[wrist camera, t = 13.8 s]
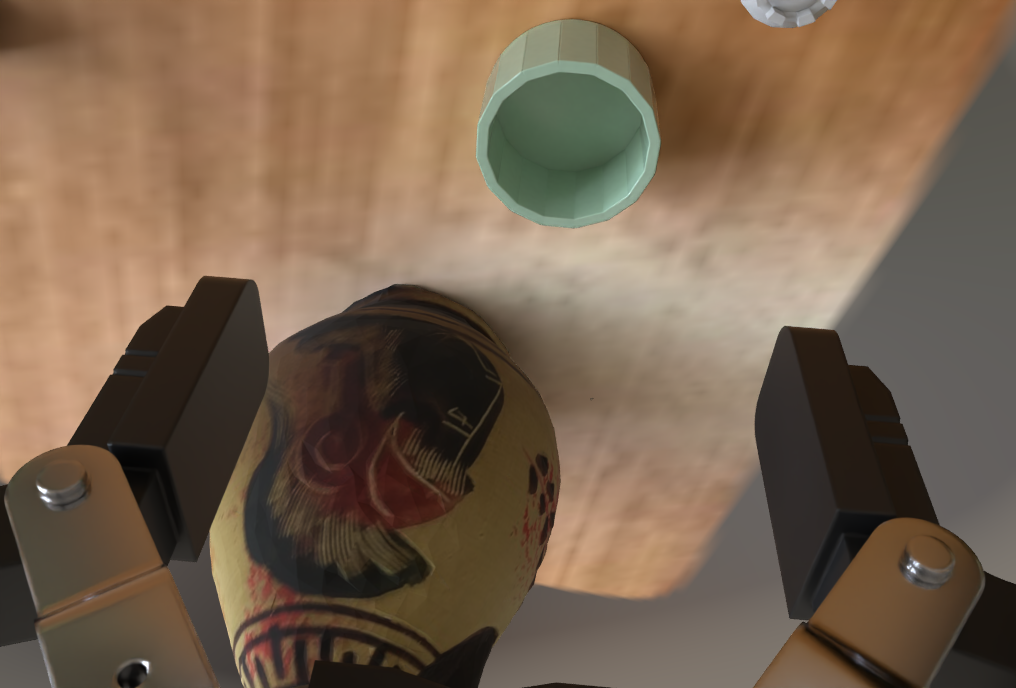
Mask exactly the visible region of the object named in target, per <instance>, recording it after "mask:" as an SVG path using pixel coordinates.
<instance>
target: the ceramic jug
mask: <svg viewBox="0 0 1016 688" xmlns="http://www.w3.org/2000/svg"><path fill="white" fill-rule="evenodd" d="M592 399H594V398H591V400H592ZM560 483H561V479H560V464H559V456H558V450H557V444H556V437H555V431H554V427H553V424H552V422H551V419H550V416H549V414H548V411H547V409H546V407H545V405H544V402H543V400H542V398H541V396H540V394H539V393H538V391H537V390H536V388H535V387H534V386H533V384H532V383H531V382H530V380H529V379H528V377H527V376H526V375H525V374H524V373H523V372H522V371H521V370H520V368H519V367H518V366H517V365H516V364H515V363H514V362H513V361H512V360H511V359H510V356H509V352H508V351H507V349H506V348H505V347H504V345H503V344H502V342H501V341H500V340H499V339H498V337H497V336H496V335H495V334H494V332H493V331H492V330H491V329H490V327H489V326H488V325H487V324H486V323H485V322H484V320H483V319H482V318H481V317H480V316H478V315H477V314H476V313H475V312H473V311H472V310H470V309H468V308H466V307H464V306H462V305H460V304H458V303H456V302H454V301H452V300H450V299H448V298H446V297H444V296H442V295H439V294H436V293H433V292H429V291H426V290H423V289H421V288H419V287H417V286H414V285H399V284H394V285H392V286H390V287H388V288H386V289H383V290H380V291H377V292H374V293H373V294H371V295H369V296H367V297H365V298H363V299H361V300H359V301H357V302H354V303H353V304H352V305H351V306H350V307H348V308H347V309H346V310H345V311H344V312H342V313H340V314H337V315H335V316H332V317H329V318H326V319H324V320H322V321H320V322H318V323H316V324H314V325H312V326H310V327H307V328H305V329H303V330H301V331H299V332H298V333H296V334H294V335H292V336H290V337H289V338H287V339H285V340H284V341H282V342H281V343H279V344H278V345H277V346H276V347H275V348H274V349H273V350H272V351H271V352H270V353H269V376H268V383H267V388H266V391H265V394H264V397H263V400H262V402H261V405H260V407H259V409H258V412H257V414H256V417H255V419H254V422H253V424H252V427H251V429H250V432H249V434H248V437H247V439H246V442H245V444H244V446H243V449H242V451H241V454H240V456H239V459H238V461H237V464H236V466H235V469H234V471H233V474H232V476H231V479H230V481H229V483H228V486H227V488H226V491H225V493H224V496H223V498H222V501H221V503H220V506H219V508H218V511H217V513H216V516H215V518H214V520H213V523H212V525H211V528H210V554H211V562H212V574H213V578H214V581H215V584H216V588H217V592H218V596H219V600H220V604H221V608H222V612H223V616H224V619H225V622H226V626H227V630H228V634H229V638H230V642H231V646H232V650H233V654H234V658H235V662H236V665H237V668H238V672H239V674H240V677H241V682H242V684H243V686H244V688H293V687H297V686H302V685H308V684H309V682H310V678H311V674H312V670H313V666H314V662H315V660H320V661H330V662H341V663H352V664H363V665H373V666H384V667H394V668H396V669H399V670H402V671H405V672H408V673H410V674H413V675H416V676H419V677H422V678H424V679H427V680H430V681H433V682H436V683H438V684H441V685H444V686H447V687H450V688H478V685H479V682H480V678H481V675H482V672H483V668H484V666H485V663H486V661H487V659H488V656H489V654H490V652H491V649H492V647H493V646H494V645H495V644H496V643H497V641H498V640H499V638H500V636H501V635H502V633H503V632H504V631H505V629H506V628H507V626H508V625H509V623H510V621H511V619H512V618H513V616H514V615H515V613H516V612H517V611H518V609H519V608H520V606H521V605H522V603H523V600H524V598H525V596H526V594H527V593H528V591H529V590H530V589H531V587H532V586H533V585H534V582H535V577H536V573H537V570H538V568H539V567H540V565H541V563H542V561H543V559H544V556H545V553H546V550H547V543H548V541H549V538H550V535H551V530H552V528H553V526H554V519H555V514H556V508H557V503H558V496H559V490H560Z"/></svg>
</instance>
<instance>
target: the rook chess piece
mask: <svg viewBox="0 0 1016 688" xmlns="http://www.w3.org/2000/svg"><path fill="white" fill-rule="evenodd" d="M836 1H837V0H741V2H742V4H743V5H744V7H745V8H746V9H747V10H748V12H749V13H750V14H751V15H752V17H753V18H754V19H756V20H758V21H760V22H762V23H764V24H766V25H769V26H771V27H782V28H794V27H797V26H798V27H801V26H804V25H807V24H810V23H813V22H815V20H816V19H817V18H818V17H820V16H821V15H822V14H823V13H825V12H826V11H827V10H831V8H832V7H833V5H834V4H835V2H836Z"/></svg>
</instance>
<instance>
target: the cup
mask: <svg viewBox="0 0 1016 688" xmlns="http://www.w3.org/2000/svg"><path fill="white" fill-rule="evenodd" d="M660 146H661V135H660V127H659V119H658V111H657V103H656V96H655V92H654V88H653V83H652V78H651V75H650V72H649V68H648V66H647V65H646V63H645V61H644V59H643V58H642V56H641V55H640V53H639V52H638V50H637V49H636V48H635V47H634V46H633V45H632V44H631V43H630V42H629V41H628V40H627V39H626V38H624V37H623V36H622V35H620V34H619V33H617V32H616V31H614V30H612V29H610V28H608V27H606V26H604V25H601V24H598V23H594V22H591V21H585V20H576V19H566V20H556V21H552V22H548V23H544V24H541V25H539V26H536V27H534V28H532V29H530V30H528V31H526V32H525V33H523V34H522V35H520V36H519V37H518V38H516V39H515V40H514V41H513V42H512V43H511V44H510V45H509V46H508V47H507V48H506V49H505V50H504V51H503V53H502V54H501V55H500V57H499V58H498V60H497V62H496V63H495V65H494V68H493V70H492V72H491V75H490V77H489V79H488V81H487V85H486V89H485V94H484V98H483V103H482V107H481V112H480V116H479V121H478V125H477V146H476V157H477V161H478V163H479V166H480V168H481V171H482V174H483V176H484V179H485V181H486V184H487V186H488V187H489V189H490V190H491V191H492V192H493V193H494V194H495V195H496V196H497V197H498V198H499V199H500V200H501V201H502V202H503V203H504V204H505V205H506V206H507V207H508V208H509V210H511V211H512V212H514V213H516V214H518V215H520V216H523V217H525V218H527V219H529V220H531V221H533V222H535V223H538V224H540V225H541V224H542V225H544V226H555V227H565V228H579V227H583V226H587V225H591V224H595V223H599V222H603V221H607V220H609V219H611V218H612V217H614V216H615V215H617V214H618V213H620V212H621V211H623V210H624V209H626V208H627V207H629V206H630V205H632V204H633V203H635V202H636V201H637V200H638V198H639V197H640V195H641V194H642V192H643V191H644V190H645V188H646V187H647V185H648V184H649V182H650V181H651V179H652V178H653V176H654V175H655V172H656V167H657V162H658V157H659V151H660Z"/></svg>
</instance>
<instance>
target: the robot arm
mask: <svg viewBox="0 0 1016 688" xmlns="http://www.w3.org/2000/svg"><path fill="white" fill-rule="evenodd" d="M125 351H126V353H125V355H122V356H121V358H120V360H119V361H118V363H117V365H116V366H115V368H114V369H113V370H114V373H113V375H110V376H109V378H108V379H107V381H106V383H105V384H104V386H103V387H102V389H101V391H100V392H99V394H98V396H97V397H96V399H95V401H94V402H93V404H92V406H91V407H90V409H89V410H88V412H87V414H86V415H85V417H84V419H83V420H82V422H81V424H80V425H79V427H78V428H77V430H76V432H75V433H74V435H73V437H72V438H71V440H70V442H69V443H68V445H67V446H64V447H60V448H56V449H53V450H50V451H48V452H45V453H43V454H41V455H39V456H37V457H35V458H33V459H32V460H31V461H29V462H28V463H26V464H25V465H24V466H23V467H21V468H20V469H19V470H18V471H17V472H16V474H15V475H14V476H13V477H12V479H11V480H10V482H9V484H7V485H3V486H0V647H1V646H6V645H11V644H16V643H21V642H26V641H31V640H36V639H38V641H39V644H40V648H41V651H42V654H43V657H44V661H45V664H46V668H47V672H48V675H49V679H50V682H51V686H52V688H220V685H219V683H218V681H217V679H216V676H215V674H214V672H213V670H212V667H211V665H210V662H209V660H208V658H207V656H206V653H205V651H204V649H203V647H202V644H201V642H200V639H199V637H198V635H197V633H196V630H195V628H194V626H193V624H192V621H191V619H190V617H189V614H188V612H187V610H186V607H185V605H184V603H183V601H182V598H181V596H180V594H179V591H178V589H177V587H176V585H175V582H174V580H173V577H172V575H171V573H170V571H169V569H168V567H167V566H168V563H169V561H170V560H178V561H189V562H197V560H198V557H199V555H200V552H201V550H202V548H203V545H204V543H205V540H206V538H207V535H208V533H209V530H210V528H211V525H212V523H213V520H214V518H215V516H216V513H217V511H218V508H219V506H220V503H221V501H222V498H223V496H224V493H225V491H226V488H227V486H228V483H229V481H230V479H231V476H232V474H233V471H234V469H235V466H236V464H237V461H238V459H239V456H240V454H241V451H242V449H243V446H244V444H245V442H246V439H247V437H248V434H249V432H250V429H251V427H252V424H253V422H254V419H255V417H256V414H257V412H258V409H259V407H260V405H261V402H262V400H263V397H264V394H265V391H266V388H267V383H268V376H269V353H268V347H267V341H266V335H265V328H264V322H263V316H262V310H261V303H260V297H259V291H258V287H257V285H256V283H255V281H254V280H249V279H237V278H225V277H214V276H203V277H202V278H201V279H200V280H199V282H198V283H197V285H196V287H195V289H194V290H193V292H192V294H191V296H190V297H189V299H188V301H187V303H186V304H185V306H184V307H178V306H165V307H164V308H163V309H162V310H160V311H159V312H158V313H156V314H155V315H154V316H152V317H151V318H150V319H148V320H147V321H146V322H144V323H143V324H142V325H141V326H140V327H139V329H138V330H137V332H136V333H135V335H134V337H133V338H132V340H131V342H130V343H129V345H128V347H127V348H126V350H125ZM755 438H756V444H757V449H758V455H759V460H760V465H761V470H762V475H763V481H764V486H765V491H766V497H767V502H768V507H769V512H770V518H771V523H772V528H773V533H774V539H775V544H776V550H777V554H778V560H779V565H780V571H781V576H782V581H783V586H784V592H785V597H786V602H787V608H788V612H789V618H790V619H799V620H809V621H808V622H807V623H805V622H802V623H801V624H800V625H799V626H798V627H797V628H796V630H795V631H794V632H793V634H792V635H791V636H790V637H789V639H788V640H787V642H786V643H785V644H784V646H783V647H782V648H781V650H780V651H779V653H778V654H777V655H776V657H775V658H774V659H773V661H772V662H771V664H770V665H769V667H768V668H767V669H766V670H765V672H764V673H763V675H762V676H761V677H760V679H759V680H758V681H757V683H756V684H755V686H754V687H753V688H1016V584H1014V583H1011V582H1008V581H1005V580H1003V579H1000V578H998V577H995V576H993V575H991V574H989V573H987V572H985V571H983V568H982V565H981V563H980V561H979V560H978V558H977V556H976V555H975V553H974V552H973V551H972V549H971V548H970V547H969V546H968V545H967V544H966V543H965V542H964V541H963V540H962V539H960V538H959V537H958V536H956V535H955V534H954V533H952V532H950V531H949V530H947V529H945V528H943V527H941V526H940V525H939V523H938V519H937V517H936V514H935V511H934V509H933V506H932V503H931V500H930V498H929V495H928V492H927V489H926V487H925V484H924V482H923V479H922V476H921V473H920V471H919V468H918V465H917V462H916V460H915V457H914V454H913V451H912V449H911V446H908V438H907V435H906V432H905V430H904V427H903V424H900V416H899V413H898V411H897V408H896V405H895V402H894V400H893V397H892V394H891V392H890V391H889V389H888V388H887V387H886V386H885V385H884V384H883V383H882V382H881V381H880V380H879V378H878V377H877V376H876V375H875V374H874V373H873V372H872V371H871V370H870V369H869V367H866V366H855V365H848V363H847V360H846V357H845V354H844V351H843V348H842V345H841V342H840V338H839V336H838V334H837V332H836V331H835V330H827V329H815V328H804V327H792V326H784V327H783V328H782V329H781V330H780V332H779V335H778V337H777V340H776V344H775V347H774V350H773V353H772V356H771V359H770V362H769V366H768V369H767V372H766V375H765V378H764V381H763V385H762V388H761V391H760V394H759V397H758V401H757V406H756V413H755ZM293 688H450V687H447V686H444V685H441V684H438V683H436V682H433V681H430V680H427V679H424V678H422V677H419V676H416V675H413V674H410V673H408V672H405V671H402V670H399V669H396V668H394V667H384V666H373V665H363V664H352V663H341V662H330V661H320V660H315V662H314V666H313V670H312V674H311V678H310V682H309V684H308V685H302V686H297V687H293ZM524 688H609V687H597V686H587V685H576V684H566V683H550V684H544V685H538V686H531V687H524Z"/></svg>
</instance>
